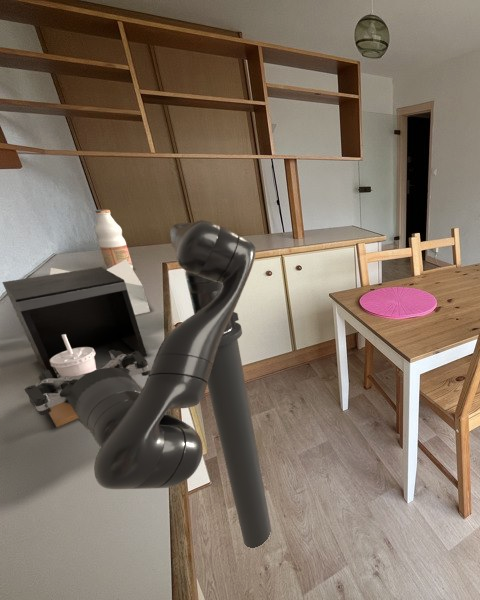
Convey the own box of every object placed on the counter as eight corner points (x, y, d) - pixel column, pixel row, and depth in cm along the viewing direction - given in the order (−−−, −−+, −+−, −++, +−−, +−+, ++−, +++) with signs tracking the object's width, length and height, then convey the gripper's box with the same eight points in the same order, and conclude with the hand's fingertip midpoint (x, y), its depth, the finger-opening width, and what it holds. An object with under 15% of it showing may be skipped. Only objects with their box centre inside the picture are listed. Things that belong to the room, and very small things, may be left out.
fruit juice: (104, 273, 143) (83, 211, 133) (113, 268, 151) (94, 208, 141) (129, 272, 147) (110, 211, 136) (136, 267, 155) (120, 208, 144)
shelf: (124, 336, 91) (101, 266, 83) (147, 356, 82) (124, 279, 74) (38, 362, 78) (2, 282, 70) (55, 388, 69) (15, 299, 61)
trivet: (116, 374, 74) (114, 371, 74) (135, 394, 68) (133, 390, 67) (42, 401, 65) (40, 397, 64) (56, 427, 58) (54, 423, 58)
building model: (60, 291, 122) (51, 267, 119) (132, 280, 137) (126, 259, 133) (57, 330, 92) (45, 301, 89) (150, 311, 107) (142, 285, 104)
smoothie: (101, 381, 70) (79, 325, 65) (114, 391, 67) (92, 333, 62) (61, 397, 65) (35, 337, 59) (73, 408, 62) (47, 347, 57)
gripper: (159, 360, 51) (125, 331, 60) (31, 406, 40) (12, 363, 49) (170, 397, 54) (136, 364, 63) (52, 450, 43) (31, 402, 52)
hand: (81, 364), depth 56 cm, fingers open, 8 cm apart
